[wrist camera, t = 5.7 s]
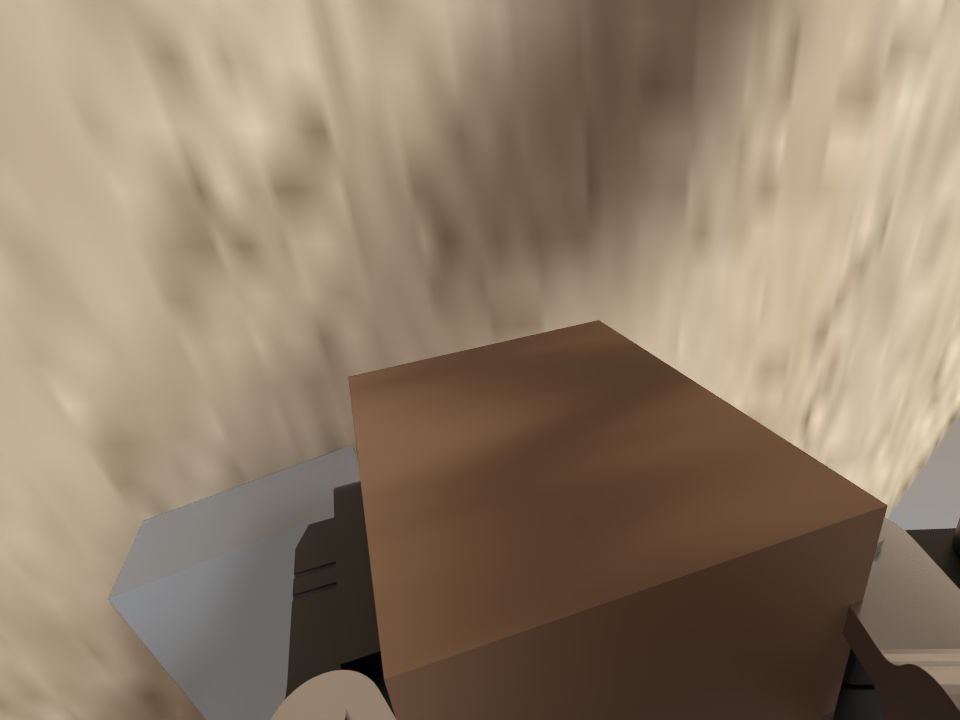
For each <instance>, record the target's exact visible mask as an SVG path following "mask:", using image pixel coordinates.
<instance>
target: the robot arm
mask: <svg viewBox="0 0 960 720" xmlns="http://www.w3.org/2000/svg"><path fill="white" fill-rule="evenodd" d="M333 496H334V518H330V519H327V520H323V521H319V522H316V523H312V524H309V525H308V527H307V529H306V531H305V532H304V534H303V536H302V538H301V540H300V541H299V543H298V545H297V547H296V548H295V562H294V577H295V579H293V601H292V611H291V628H290V644H289V660H288V677H287V689H286V696H285V699H284V701H283V703H282V704H281V705H280V706H279V707H278V709H277V710H276V712H275V714H274V715H273V717H272V718H271V720H396V717H395V714H394V710H393V707H392V704H391V701H390V697H389V694H388V691H387V688H386V684H385V681H384V675H383V667H382V658H381V650H380V641H379V633H378V624H377V616H376V607H375V599H374V590H373V582H372V573H371V565H370V556H369V548H368V539H367V531H366V522H365V514H364V506H363V497H362V489H361V481H358V482H354V483H350V484H347V485H343V486H339V487H335V488H334V490H333ZM842 634H843V635H844V637H845V639H846V640H847V642H848V643H849V645H850V647H851V649H850V653H849V657H848V661H847V664H846V668H845V672H844V676H843V680H842V684H841V688H840V692H839V696H838V700H837V703H836V707H835V711H834V712H831V713H829V714H827V715H825V716H822V719H821V720H960V519H959V522H958V525H957V528H953V529H926V530H904V529H902V528H901V527H900V526H898V525H897V524H896V523H894V522H892V521H891V520H889V519H887V518H885V517H884V520H883V524H882V528H881V532H880V536H879V540H878V544H877V548H876V552H875V556H874V559H873V563H872V567H871V571H870V575H869V579H868V583H867V587H866V591H865V594H864V598H863V600H861V601H858V602H856V603H853V604H851V605H849V608H848V612H847V617H846V621H845V625H844V629H843V633H842Z"/></svg>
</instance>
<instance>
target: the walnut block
mask: <svg viewBox="0 0 960 720" xmlns="http://www.w3.org/2000/svg"><path fill="white" fill-rule="evenodd" d="M348 378H349V387H350V395H351V404H352V412H353V421H354V429H355V438H356V446H357V455H358V463H359V472H360V480H361V489H362V497H363V506H364V514H365V522H366V531H367V539H368V548H369V556H370V565H371V573H372V582H373V590H374V599H375V607H376V616H377V624H378V633H379V641H380V650H381V658H382V667H383V675H384V681H385V684H386V688H387V691H388V694H389V697H390V701H391V704H392V707H393V710H394V714H395V717H396V720H821V719H822V716H825V715H827V714H829V713H831V712H834V711H835V707H836V703H837V700H838V696H839V692H840V688H841V684H842V680H843V676H844V672H845V668H846V664H847V661H848V657H849V653H850V649H851V647H850V645H849V643H848V642H847V640H846V639H845V637H844V635H843V634H842V633H843V629H844V625H845V621H846V617H847V612H848V608H849V605H851V604H853V603H856V602H858V601H861V600H863V598H864V594H865V591H866V587H867V583H868V579H869V575H870V571H871V567H872V563H873V559H874V556H875V552H876V548H877V544H878V540H879V536H880V532H881V528H882V524H883V520H884V517H885V513H886V509H887V505H886V504H885V503H883V502H881V501H880V500H878V499H877V498H875V497H874V496H872V495H870V494H869V493H867V492H866V491H864V490H863V489H861V488H860V487H858V486H856V485H855V484H853V483H852V482H850V481H849V480H847V479H846V478H844V477H842V476H841V475H839V474H838V473H836V472H835V471H833V470H831V469H830V468H828V467H827V466H825V465H824V464H822V463H821V462H819V461H817V460H816V459H814V458H813V457H811V456H810V455H808V454H807V453H805V452H803V451H802V450H800V449H799V448H797V447H796V446H794V445H792V444H791V443H789V442H788V441H786V440H785V439H783V438H782V437H780V436H778V435H777V434H775V433H774V432H772V431H771V430H769V429H768V428H766V427H764V426H763V425H761V424H760V423H758V422H757V421H755V420H753V419H752V418H750V417H749V416H747V415H746V414H744V413H743V412H741V411H739V410H738V409H736V408H735V407H733V406H732V405H730V404H729V403H727V402H725V401H724V400H722V399H721V398H719V397H718V396H716V395H715V394H713V393H711V392H710V391H708V390H707V389H705V388H704V387H702V386H700V385H699V384H697V383H696V382H694V381H693V380H691V379H690V378H688V377H686V376H685V375H683V374H682V373H680V372H679V371H677V370H676V369H674V368H672V367H671V366H669V365H668V364H666V363H665V362H663V361H661V360H660V359H658V358H657V357H655V356H654V355H652V354H651V353H649V352H647V351H646V350H644V349H643V348H641V347H640V346H638V345H637V344H635V343H633V342H632V341H630V340H629V339H627V338H626V337H624V336H622V335H621V334H619V333H618V332H616V331H615V330H613V329H612V328H610V327H608V326H607V325H605V324H604V323H602V322H601V321H599V320H598V321H593V322H589V323H585V324H580V325H576V326H571V327H567V328H562V329H558V330H554V331H549V332H545V333H540V334H536V335H531V336H527V337H523V338H518V339H514V340H509V341H505V342H501V343H496V344H492V345H487V346H483V347H478V348H474V349H470V350H465V351H461V352H456V353H452V354H447V355H443V356H439V357H434V358H430V359H425V360H421V361H417V362H412V363H408V364H403V365H399V366H394V367H390V368H386V369H381V370H377V371H372V372H368V373H363V374H359V375H355V376H350V377H348Z"/></svg>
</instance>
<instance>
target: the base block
mask: <svg viewBox="0 0 960 720" xmlns="http://www.w3.org/2000/svg"><path fill="white" fill-rule="evenodd" d="M358 481H361V480H360V472H359V463H358V458H357V455H356V453H355V451H354V448H353V446H352V445H350V446H347V447H344V448H342V449H339V450H336V451H333V452H331V453H328V454H325V455H322V456H320V457H317V458H314V459H311V460H309V461H306V462H303V463H301V464H298V465H295V466H292V467H290V468H287V469H284V470H281V471H279V472H276V473H273V474H270V475H268V476H265V477H262V478H259V479H257V480H254V481H251V482H248V483H246V484H243V485H240V486H238V487H235V488H232V489H229V490H227V491H224V492H221V493H218V494H216V495H213V496H210V497H207V498H205V499H202V500H199V501H196V502H194V503H191V504H188V505H186V506H183V507H180V508H177V509H175V510H172V511H169V512H166V513H164V514H161V515H158V516H155V517H153V518H150V519H147V520H144V521H143V524H142V526H141V528H140V530H139V532H138V534H137V537H136V539H135V541H134V543H133V545H132V547H131V550H130V552H129V554H128V556H127V558H126V561H125V563H124V565H123V567H122V569H121V571H120V574H119V576H118V578H117V580H116V582H115V584H114V587H113V589H112V591H111V593H110V595H109V598H108V600H109V602H110V603H111V604H112V605H113V606H114V608H115V609H116V610H117V611H118V613H119V614H120V615H121V616H122V618H123V619H124V620H125V621H126V622H127V624H128V625H129V626H130V627H131V629H132V630H133V631H134V632H135V634H136V635H137V636H138V637H139V638H140V640H141V641H142V642H143V643H144V645H145V646H146V647H147V648H148V650H149V651H150V652H151V653H152V654H153V656H154V657H155V658H156V659H157V661H158V662H159V663H160V664H161V666H162V667H163V668H164V669H165V670H166V672H167V673H168V674H169V675H170V677H171V678H172V679H173V680H174V682H175V683H176V684H177V685H178V686H179V688H180V689H181V690H182V691H183V693H184V694H185V695H186V696H187V698H188V699H189V700H190V701H191V702H192V704H193V705H194V706H195V707H196V709H197V710H198V711H199V712H200V714H201V715H202V716H203V717H204V718H205V720H271V718H272V717H273V715H274V714H275V712H276V710H277V709H278V707H279V706H280V705H281V704H282V703H283V701H284V699H285V696H286V689H287V677H288V660H289V644H290V628H291V611H292V601H293V579H295V577H294V562H295V548H296V547H297V545H298V543H299V541H300V540H301V538H302V536H303V534H304V532H305V531H306V529H307V527H308V525H309V524H312V523H316V522H319V521H323V520H327V519H330V518H334V496H333V490H334V488H335V487H339V486H343V485H347V484H350V483H354V482H358Z"/></svg>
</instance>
